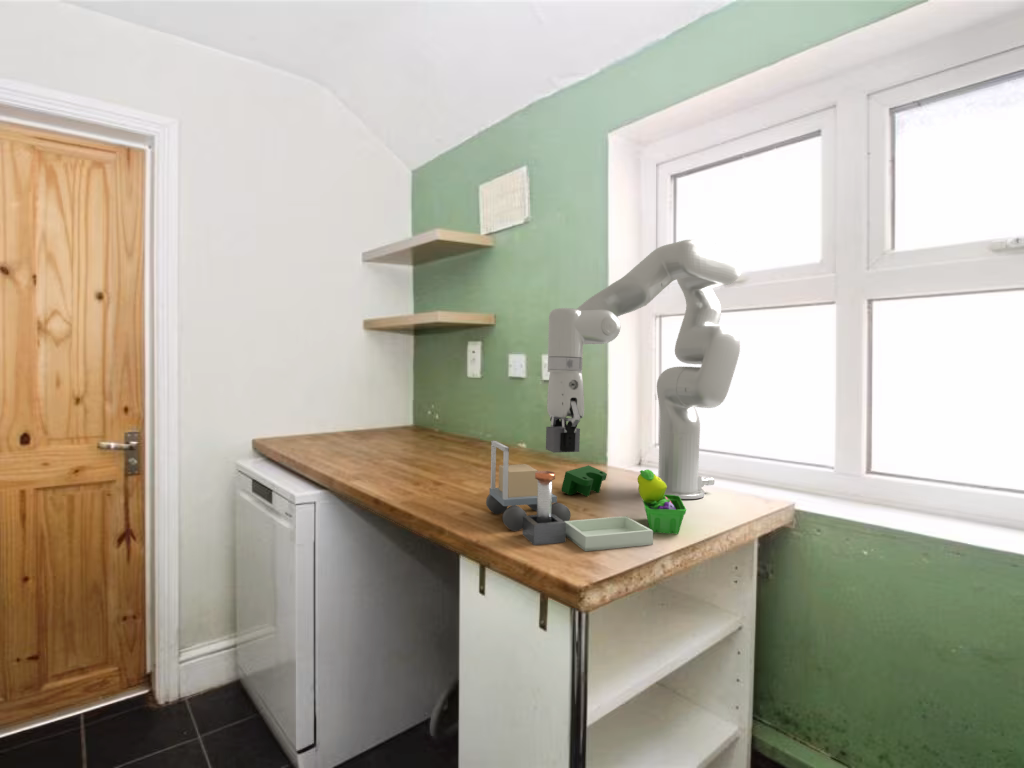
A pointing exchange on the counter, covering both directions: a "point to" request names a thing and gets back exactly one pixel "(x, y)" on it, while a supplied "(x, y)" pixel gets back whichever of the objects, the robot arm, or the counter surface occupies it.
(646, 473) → the fruit basket
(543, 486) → the pin
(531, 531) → the bracket
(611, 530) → the tray
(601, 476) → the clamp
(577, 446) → the grey rectangular block
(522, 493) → the trolley
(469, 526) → the counter surface
